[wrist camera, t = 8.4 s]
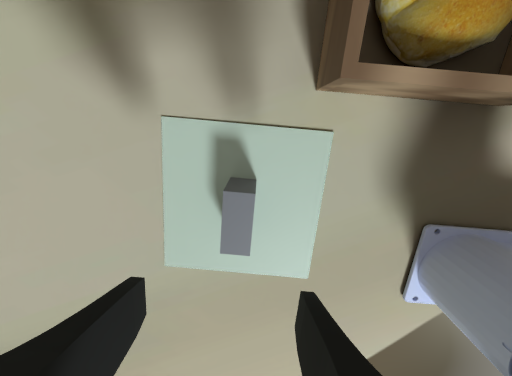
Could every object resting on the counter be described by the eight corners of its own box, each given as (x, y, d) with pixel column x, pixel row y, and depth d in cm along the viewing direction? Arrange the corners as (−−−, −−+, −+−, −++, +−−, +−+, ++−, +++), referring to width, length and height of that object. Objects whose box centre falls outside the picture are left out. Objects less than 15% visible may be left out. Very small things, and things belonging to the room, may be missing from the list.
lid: (330, 131, 19) (352, 135, 15) (306, 273, 23) (317, 311, 19) (165, 116, 19) (135, 115, 15) (168, 261, 23) (144, 296, 18)
